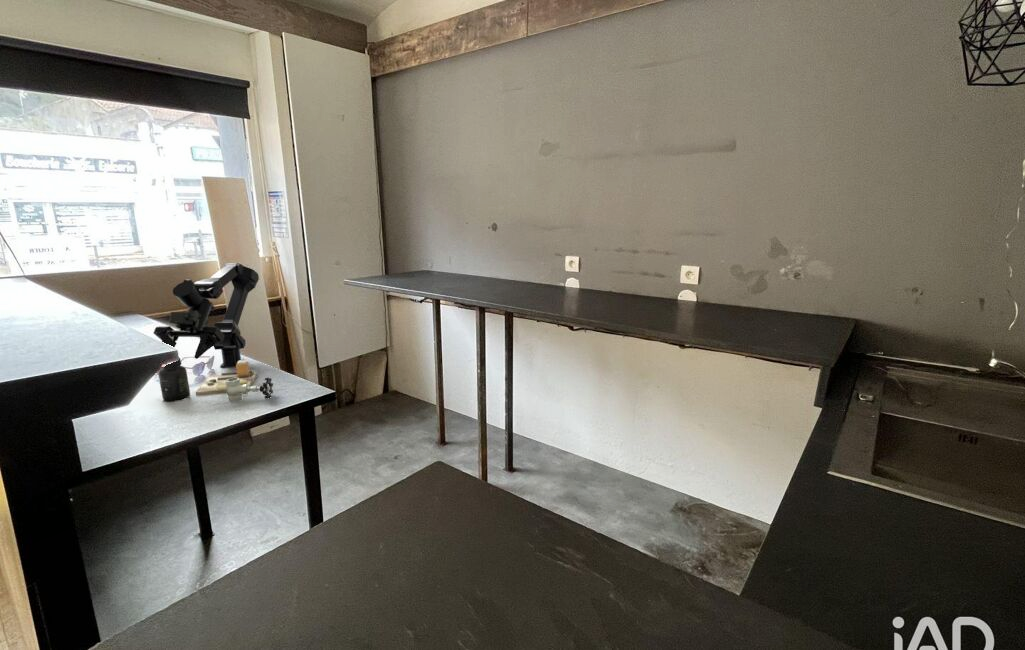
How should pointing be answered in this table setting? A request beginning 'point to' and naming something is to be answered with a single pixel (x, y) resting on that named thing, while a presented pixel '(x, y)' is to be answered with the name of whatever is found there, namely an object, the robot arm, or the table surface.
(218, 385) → the panel
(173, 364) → the supplement bottle
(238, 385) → the valve
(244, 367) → the orange rectangular block
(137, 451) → the table surface
